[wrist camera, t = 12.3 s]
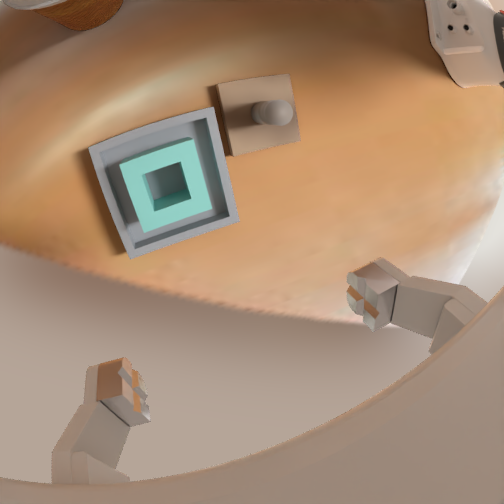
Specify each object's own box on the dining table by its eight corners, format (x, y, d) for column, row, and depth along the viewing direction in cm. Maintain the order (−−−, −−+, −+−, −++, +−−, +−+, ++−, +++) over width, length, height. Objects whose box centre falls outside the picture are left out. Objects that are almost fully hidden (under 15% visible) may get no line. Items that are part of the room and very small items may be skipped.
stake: (215, 85, 22) (229, 77, 18) (284, 74, 23) (310, 68, 19) (230, 155, 25) (247, 163, 21) (296, 140, 27) (322, 146, 23)
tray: (93, 145, 20) (88, 147, 19) (209, 107, 23) (213, 106, 21) (131, 250, 26) (130, 259, 24) (233, 214, 28) (239, 221, 27)
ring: (123, 158, 22) (119, 164, 19) (188, 136, 23) (193, 139, 20) (144, 218, 25) (144, 232, 22) (204, 197, 26) (212, 208, 23)
